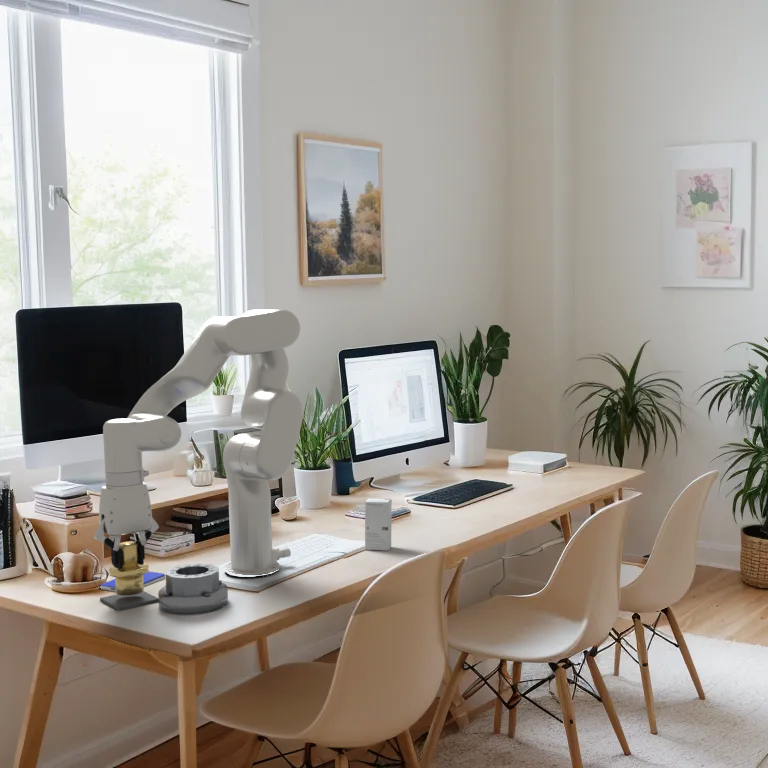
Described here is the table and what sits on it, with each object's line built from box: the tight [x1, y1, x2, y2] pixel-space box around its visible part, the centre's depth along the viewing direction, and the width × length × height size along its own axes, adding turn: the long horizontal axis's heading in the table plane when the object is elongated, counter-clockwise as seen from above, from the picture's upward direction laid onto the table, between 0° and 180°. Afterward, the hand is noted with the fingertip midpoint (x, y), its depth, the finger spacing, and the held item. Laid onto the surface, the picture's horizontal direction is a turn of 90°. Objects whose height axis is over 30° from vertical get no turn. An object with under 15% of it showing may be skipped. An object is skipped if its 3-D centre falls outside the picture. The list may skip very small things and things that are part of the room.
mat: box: [99, 590, 159, 611], centre depth 211 cm, size 9×9×1 cm
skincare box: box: [364, 497, 393, 552], centre depth 250 cm, size 6×4×12 cm
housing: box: [157, 563, 229, 616], centre depth 208 cm, size 14×14×7 cm
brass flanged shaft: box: [108, 541, 150, 596], centre depth 211 cm, size 8×8×10 cm
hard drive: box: [100, 571, 166, 592], centre depth 224 cm, size 2×8×12 cm
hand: (128, 564), depth 211 cm, fingers closed on brass flanged shaft, 4 cm apart
